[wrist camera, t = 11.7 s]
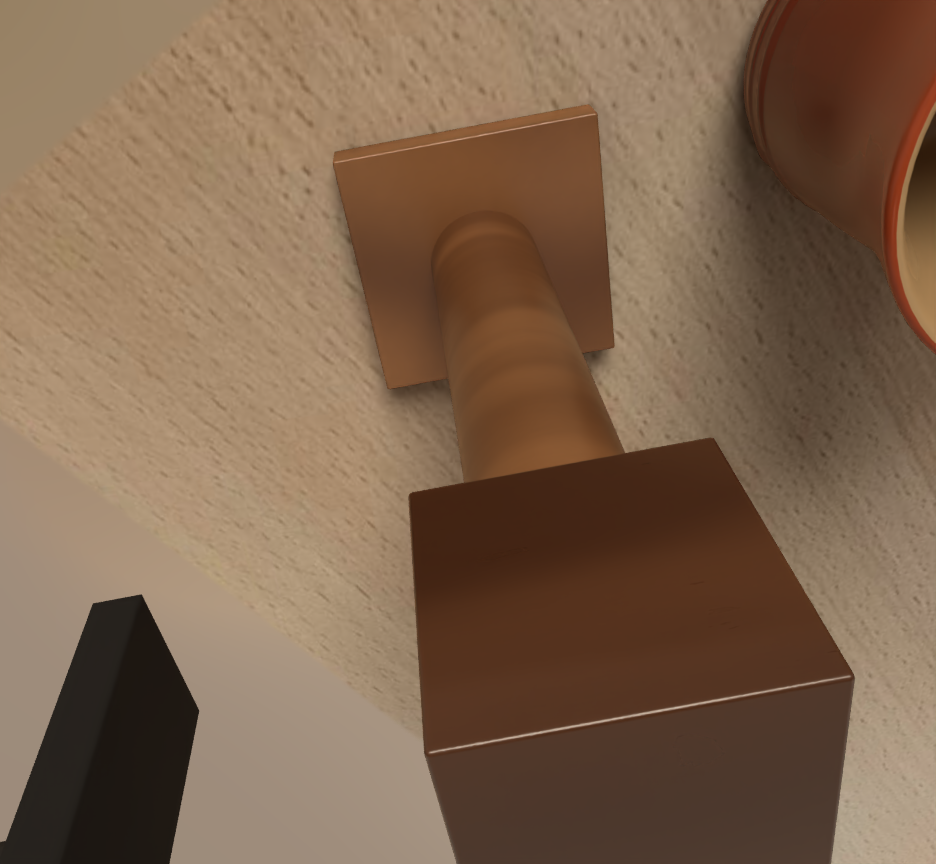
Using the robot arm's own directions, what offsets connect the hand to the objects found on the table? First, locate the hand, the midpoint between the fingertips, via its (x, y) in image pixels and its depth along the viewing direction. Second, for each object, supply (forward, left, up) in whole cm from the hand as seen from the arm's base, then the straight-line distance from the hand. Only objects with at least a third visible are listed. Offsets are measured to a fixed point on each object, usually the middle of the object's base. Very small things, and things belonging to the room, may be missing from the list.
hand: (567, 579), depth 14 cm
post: (0, 0, -14) cm, 14 cm away
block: (0, 0, 0) cm, 0 cm away
